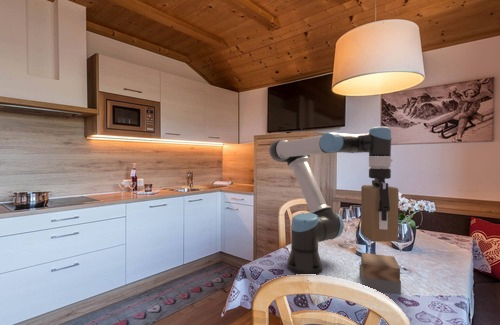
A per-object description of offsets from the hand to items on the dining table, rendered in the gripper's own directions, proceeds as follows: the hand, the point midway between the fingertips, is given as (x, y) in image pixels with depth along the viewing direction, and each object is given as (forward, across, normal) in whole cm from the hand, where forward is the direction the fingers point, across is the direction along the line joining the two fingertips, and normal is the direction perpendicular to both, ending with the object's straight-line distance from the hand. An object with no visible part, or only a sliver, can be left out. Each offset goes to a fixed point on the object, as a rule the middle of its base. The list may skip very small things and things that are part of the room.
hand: (379, 225), depth 101 cm
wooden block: (+5, 0, 0) cm, 5 cm away
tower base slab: (+24, +1, 0) cm, 24 cm away
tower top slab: (+19, 0, 0) cm, 19 cm away
